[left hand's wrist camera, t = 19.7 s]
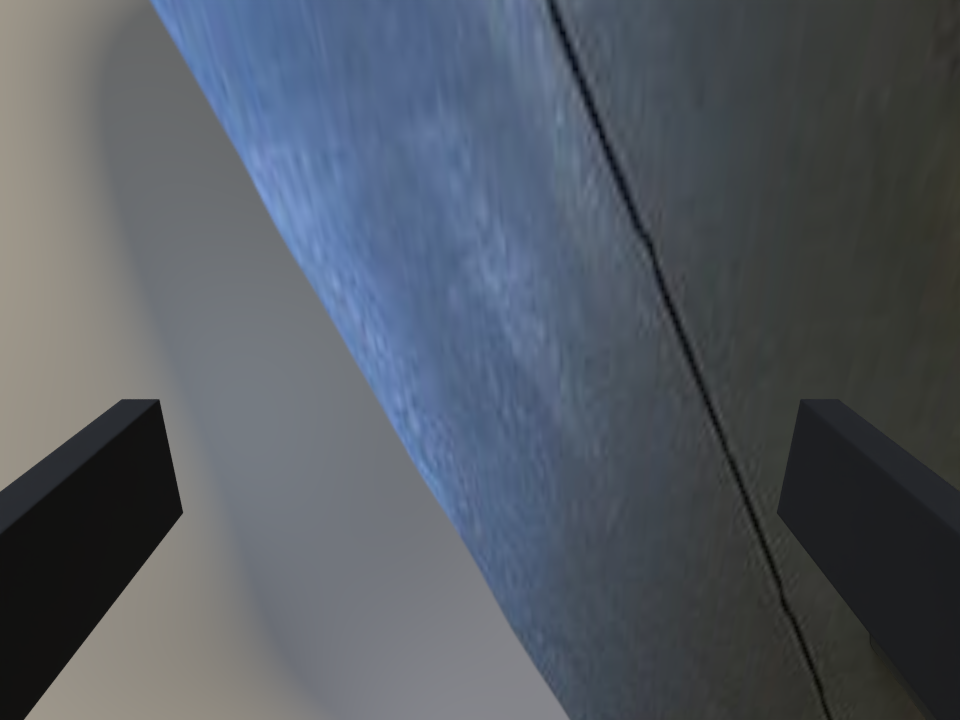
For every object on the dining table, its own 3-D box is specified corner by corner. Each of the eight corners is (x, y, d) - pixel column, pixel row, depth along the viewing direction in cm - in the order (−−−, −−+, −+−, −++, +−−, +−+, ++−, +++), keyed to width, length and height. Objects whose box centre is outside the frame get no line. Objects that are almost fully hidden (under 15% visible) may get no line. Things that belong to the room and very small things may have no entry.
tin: (949, 637, 51) (1077, 777, 40) (885, 668, 52) (993, 811, 41) (923, 595, 49) (1049, 728, 38) (858, 627, 50) (962, 765, 39)
